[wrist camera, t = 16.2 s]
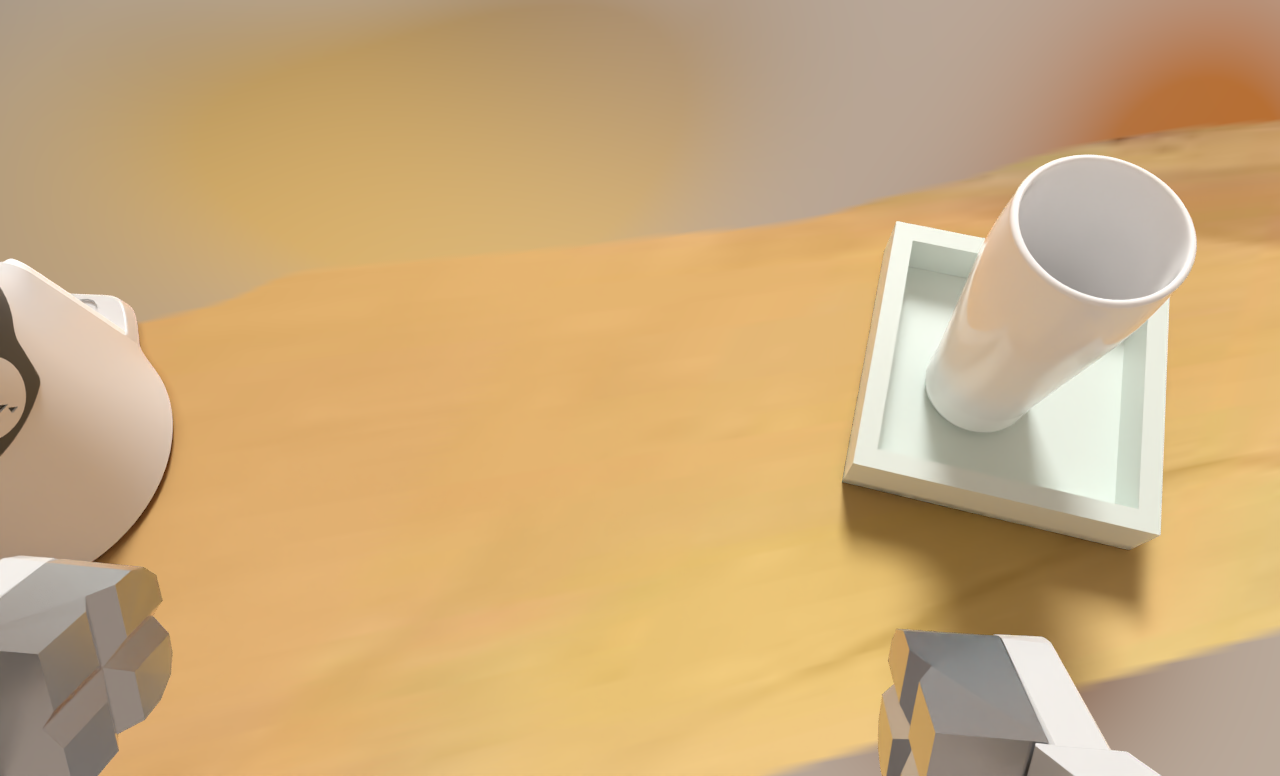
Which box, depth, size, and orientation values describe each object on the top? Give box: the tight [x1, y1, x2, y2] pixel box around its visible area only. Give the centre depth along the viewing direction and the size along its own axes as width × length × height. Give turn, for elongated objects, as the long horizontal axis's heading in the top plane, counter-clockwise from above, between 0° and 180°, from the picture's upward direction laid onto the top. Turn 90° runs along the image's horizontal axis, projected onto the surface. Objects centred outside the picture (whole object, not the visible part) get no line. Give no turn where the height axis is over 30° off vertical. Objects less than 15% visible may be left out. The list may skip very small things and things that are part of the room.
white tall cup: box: [925, 155, 1197, 433], centre depth 39 cm, size 7×7×15 cm
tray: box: [842, 221, 1169, 550], centre depth 45 cm, size 14×14×3 cm
